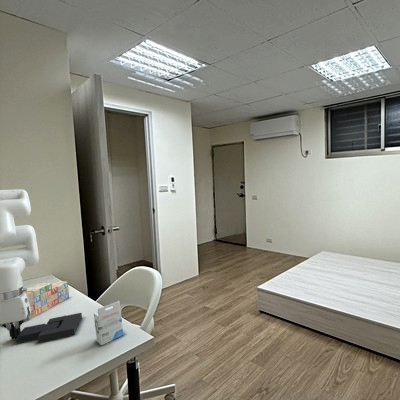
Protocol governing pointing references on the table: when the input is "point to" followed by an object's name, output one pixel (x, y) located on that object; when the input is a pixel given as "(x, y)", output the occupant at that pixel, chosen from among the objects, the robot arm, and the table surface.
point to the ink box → (108, 323)
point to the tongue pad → (35, 331)
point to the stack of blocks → (46, 296)
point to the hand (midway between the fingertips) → (15, 337)
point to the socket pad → (61, 327)
